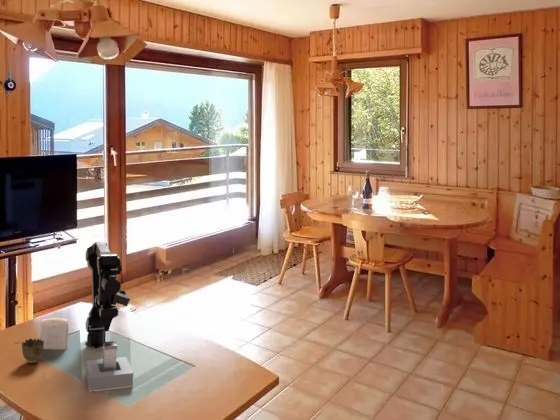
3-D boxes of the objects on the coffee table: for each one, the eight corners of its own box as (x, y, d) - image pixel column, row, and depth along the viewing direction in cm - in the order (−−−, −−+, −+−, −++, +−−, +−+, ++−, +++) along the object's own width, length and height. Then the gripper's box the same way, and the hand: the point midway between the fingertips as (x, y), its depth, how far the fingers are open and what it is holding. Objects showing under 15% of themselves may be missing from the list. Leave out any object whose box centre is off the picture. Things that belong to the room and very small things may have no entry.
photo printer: (68, 346, 211) (69, 316, 210) (66, 350, 207) (67, 320, 206) (40, 346, 209) (41, 316, 207) (38, 350, 205) (39, 319, 203)
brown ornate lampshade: (34, 368, 190) (35, 347, 189) (16, 365, 191) (17, 343, 190) (47, 360, 197) (48, 339, 196) (30, 357, 198) (30, 336, 197)
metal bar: (101, 377, 186) (103, 342, 185) (113, 376, 188) (115, 341, 186) (103, 382, 183) (104, 346, 181) (115, 381, 184) (117, 345, 183)
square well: (85, 374, 189) (85, 360, 188) (125, 369, 195) (126, 356, 194) (89, 391, 176) (90, 377, 176) (132, 386, 182) (133, 373, 182)
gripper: (133, 293, 193) (131, 334, 195) (124, 279, 210) (122, 317, 212) (101, 294, 188) (99, 336, 190) (95, 280, 205) (93, 319, 207)
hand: (105, 327), depth 200 cm, fingers open, 9 cm apart
